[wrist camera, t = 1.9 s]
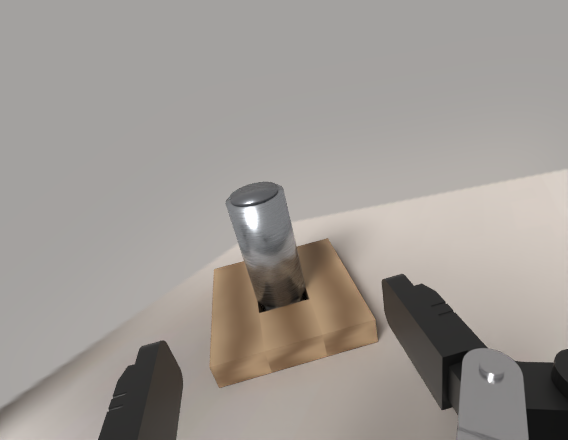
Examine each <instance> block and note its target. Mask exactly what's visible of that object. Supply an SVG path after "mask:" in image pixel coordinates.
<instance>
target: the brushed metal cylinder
mask: <svg viewBox="0 0 568 440" xmlns="http://www.w3.org/2000/svg"><path fill="white" fill-rule="evenodd" d="M226 206H227V209H228V213H229V216H230V219H231V222H232V224H233V228H234V231H235V234H236V237H237V240H238V243H239V247H240V250H241V253H242V256H243V259H244V262H245V265H246V268H247V271H248V274H249V277H250V281H251V284H252V287H253V290H254V293H255V296H256V299H257V301H258V302H259V303H260V304H262V305H264V307H265V310H266V311H269V310H272V309H276V308H279V307H283V306H286V305H290V304H294V303H297V302H301V301H304V300H303V296H302V294H303V293H304V290H305V281H304V277H303V273H302V268H301V264H300V260H299V255H298V251H297V247H296V242H295V238H294V233H293V229H292V225H291V220H290V216H289V212H288V207H287V203H286V199H285V195H284V190H283V188H282V186H280V185H278V184H275V183H272V182H259V183H254V184H249V185H247V186H244V187H242V188H239V189H237V190H236V191H235V192H233V193H232V194H231V195H230V197H229V198H228V199H227V200H226Z"/></svg>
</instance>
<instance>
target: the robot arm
mask: <svg viewBox="0 0 568 440" xmlns="http://www.w3.org/2000/svg"><path fill="white" fill-rule="evenodd" d="M382 290H383V301H384V311H385V315H386V318H387V321H388V324H389V326H390V328H391V329H392V331H393V332H394V334H395V336H396V337H397V339H398V340H399V342H400V344H401V345H402V347H403V349H404V350H405V352H406V353H407V355H408V357H409V358H410V360H411V361H412V363H413V365H414V366H415V368H416V369H417V371H418V373H419V374H420V376H421V378H422V379H423V381H424V382H425V384H426V386H427V387H428V389H429V390H430V392H431V394H432V395H433V397H434V398H435V400H436V402H437V403H438V405H439V407H440V408H441V410H444V409H448V408H451V407H453V408H454V410H455V411H456V413H457V414H458V428H457V437H456V440H568V349H565V350H562V351H560V352H559V353H558V354H557V355H556V357H555V359H554V363H548V362H518V361H514V360H513V359H511V358H510V357H509V356H507V355H506V354H504V353H502V352H499V351H497V350H493V349H489V348H487V347H486V346H485V345H484V343H483V342H482V341H481V340H480V339H479V338H478V337H477V336H476V335H475V334H474V333H473V331H472V330H471V329H470V328H469V327H468V326H467V325H466V324H465V323H464V322H463V321H462V319H461V318H460V317H459V316H458V315H457V314H456V313H454V312H453V310H452V309H451V307H450V306H449V305H448V304H446V303H445V301H444V300H443V299H442V298H441V296H440V295H439V294H438V293H437V292H436V291H434V290H433V289H431V288H429V287H427V286H425V285H423V284H419V285H415V286H414V285H413V284H412V283H411V282H410V281H409V280H408V278H407V277H406V276H405V275H404V274H400V275H396V276H393V277H389V278H386V279H383V280H382ZM182 389H183V378H182V373H181V370H180V367H179V365H178V364H177V362H176V360H175V358H174V356H173V354H172V352H171V350H170V349H169V347H168V345H167V343H166V342H165V341H159V342H155V343H152V344H148V345H145V346H142V347H141V348H140V349H139V352H138V356H137V359H136V362H135V364H134V365H130V366H128V367H127V368H126V370H125V371H124V373H123V374H122V376H121V377H120V378H119V380H118V382H117V385H116V388H115V391H114V394H113V399H112V400H111V403H110V405H109V408H108V409H109V412H107V414H106V417H105V420H104V423H103V426H102V429H101V432H100V435H99V438H98V440H176V436H177V428H178V420H179V413H180V405H181V397H182Z"/></svg>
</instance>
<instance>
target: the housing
mask: <svg viewBox="0 0 568 440" xmlns="http://www.w3.org/2000/svg"><path fill="white" fill-rule="evenodd" d="M297 251H298V255H299V260H300V264H301V268H302V273H303V277H304V281H305V290H304V292H305V294H306V297H307V300H304V301H301V302H297V303H294V304H290V305H286V306H283V307H279V308H276V309H272V310H269V311H265V312H262V306H261V304H260V303H259V302H258V301H257V299H256V296H255V293H254V290H253V287H252V284H251V281H250V277H249V274H248V271H247V268H246V265H245V262H244V261H243V262H239V263H235V264H232V265H228V266H224V267H221V268H217V269H214V281H213V303H212V325H211V347H210V369H211V371H212V373H213V376H214V378H215V380H216V382H217V384H218V386H219V388H221V387H224V386H228V385H231V384H235V383H238V382H241V381H245V380H248V379H252V378H255V377H259V376H262V375H265V374H269V373H272V372H276V371H279V370H282V369H286V368H289V367H293V366H296V365H300V364H303V363H306V362H310V361H313V360H317V359H320V358H324V357H327V356H330V355H334V354H337V353H341V352H344V351H348V350H351V349H354V348H358V347H361V346H365V345H368V344H372V343H375V342H378V338H377V329H376V320H375V318H374V316H373V314H372V313H371V311H370V309H369V308H368V306H367V304H366V302H365V301H364V299H363V297H362V296H361V294H360V292H359V291H358V289H357V287H356V285H355V284H354V282H353V280H352V279H351V277H350V275H349V274H348V272H347V270H346V268H345V267H344V265H343V263H342V262H341V260H340V258H339V256H338V255H337V253H336V251H335V250H334V248H333V246H332V245H331V243H330V241H329V239H328V238H327V239H324V240H320V241H316V242H312V243H309V244H305V245H301V246H298V247H297Z"/></svg>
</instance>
